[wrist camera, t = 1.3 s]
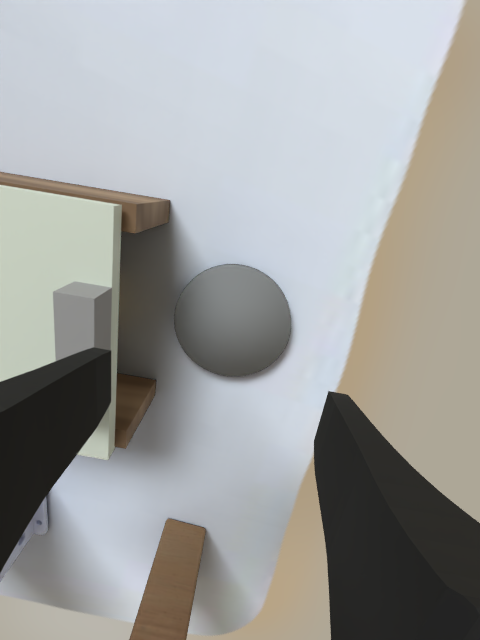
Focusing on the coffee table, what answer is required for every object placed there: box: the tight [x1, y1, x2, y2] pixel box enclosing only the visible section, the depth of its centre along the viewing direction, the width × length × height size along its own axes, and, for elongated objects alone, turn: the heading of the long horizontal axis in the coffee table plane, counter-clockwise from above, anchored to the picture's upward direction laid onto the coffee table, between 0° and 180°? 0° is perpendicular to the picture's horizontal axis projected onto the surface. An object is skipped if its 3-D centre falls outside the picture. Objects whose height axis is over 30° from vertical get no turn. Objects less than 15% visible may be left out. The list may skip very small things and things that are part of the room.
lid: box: [0, 185, 122, 460], centre depth 15 cm, size 13×9×2 cm
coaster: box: [174, 264, 291, 376], centre depth 21 cm, size 7×7×1 cm
